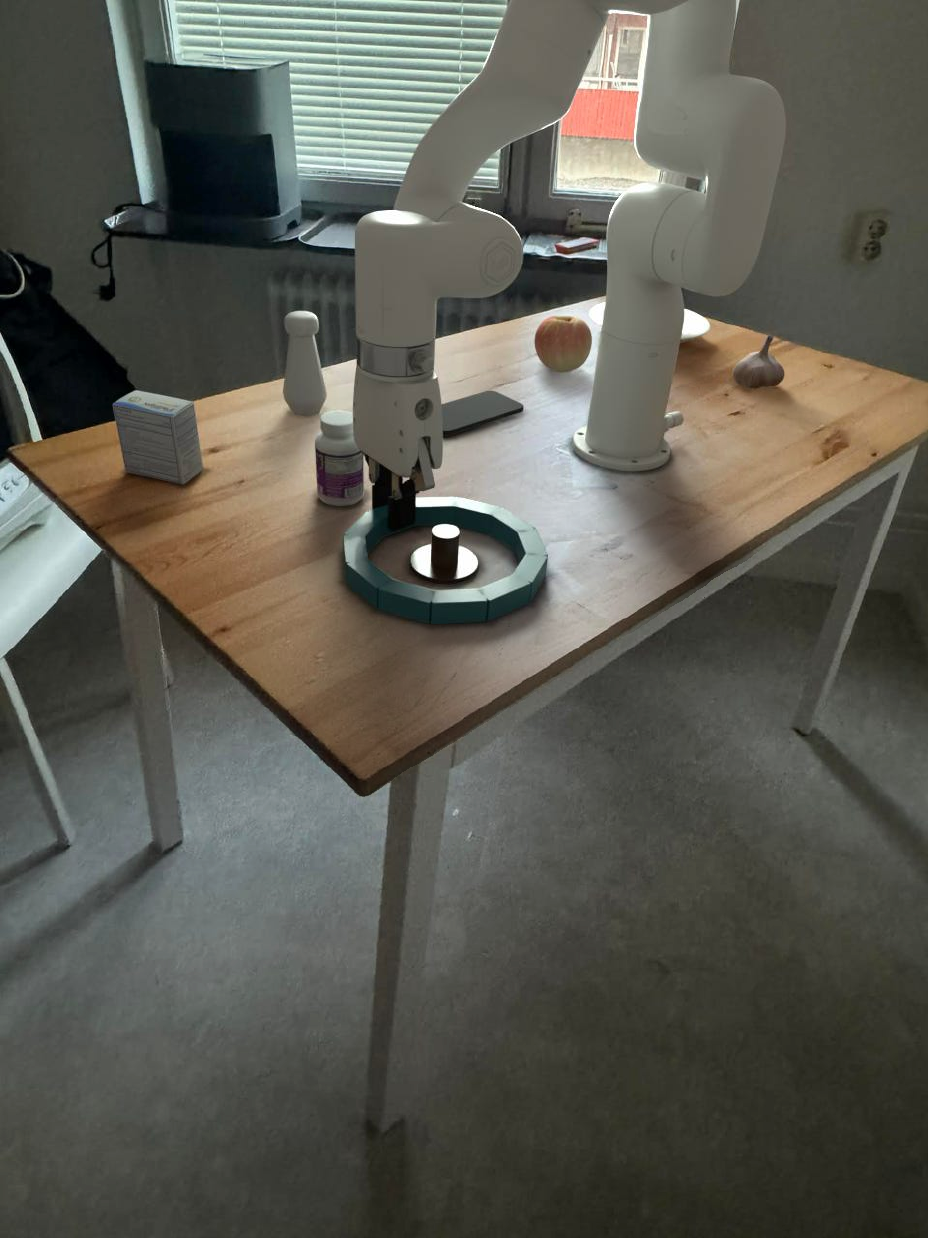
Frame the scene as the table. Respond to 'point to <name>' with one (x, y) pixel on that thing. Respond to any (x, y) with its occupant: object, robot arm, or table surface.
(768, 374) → the garlic bulb
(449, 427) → the phone
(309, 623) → the table surface
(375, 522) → the ring
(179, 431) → the medicine box
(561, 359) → the apple
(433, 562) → the peg stand
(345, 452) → the pill bottle
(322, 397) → the salt shaker
